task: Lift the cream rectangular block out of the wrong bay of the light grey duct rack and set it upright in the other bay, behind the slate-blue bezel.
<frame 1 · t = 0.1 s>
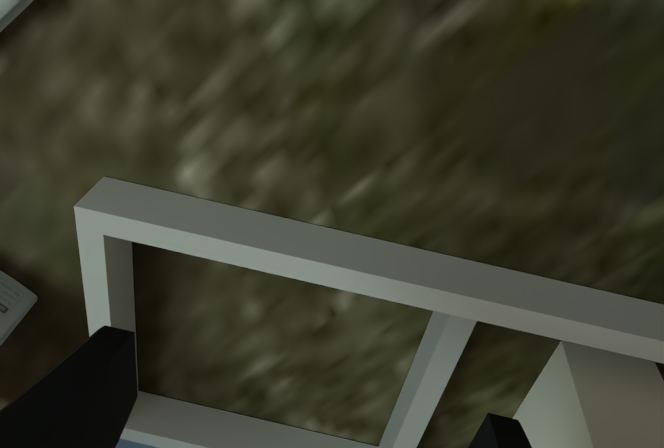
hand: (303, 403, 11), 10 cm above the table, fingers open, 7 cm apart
duct rack: (418, 375, 25), on the table
cream rectangular block: (566, 407, 25), resting in duct rack
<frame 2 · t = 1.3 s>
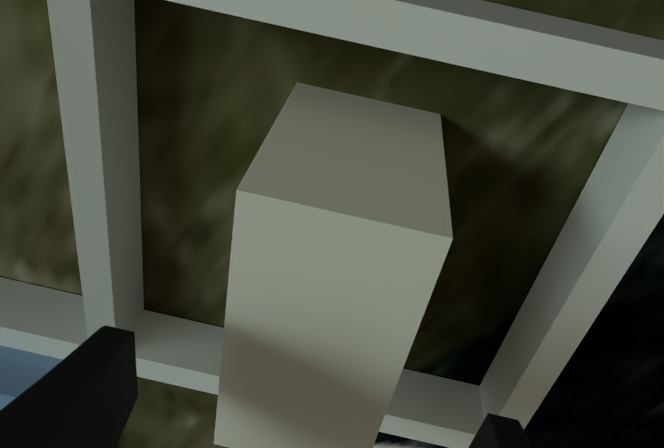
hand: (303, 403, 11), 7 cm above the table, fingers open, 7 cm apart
duct rack: (124, 169, 17), on the table
cream rectangular block: (341, 216, 17), resting in duct rack
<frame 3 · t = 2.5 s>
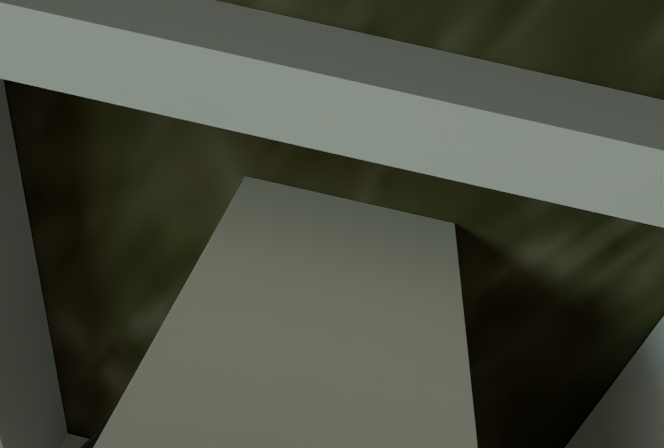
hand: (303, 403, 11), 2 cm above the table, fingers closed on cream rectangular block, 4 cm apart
duct rack: (19, 277, 12), on the table
cream rectangular block: (315, 344, 12), resting in duct rack, touching gripper
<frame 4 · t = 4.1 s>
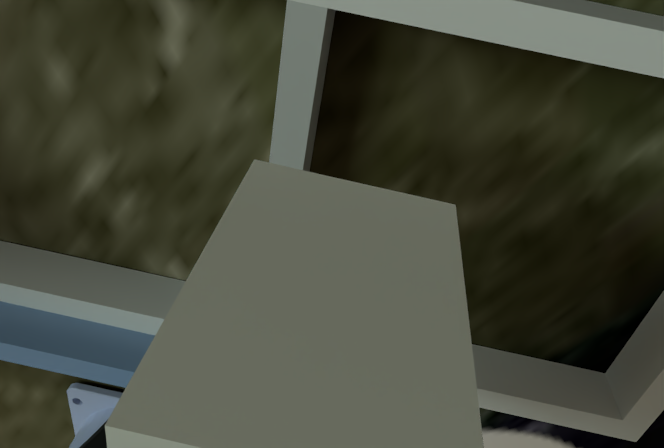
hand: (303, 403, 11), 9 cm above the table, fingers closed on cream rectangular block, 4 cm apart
duct rack: (294, 173, 18), on the table
cream rectangular block: (320, 325, 13), point 7 cm above the table, touching gripper
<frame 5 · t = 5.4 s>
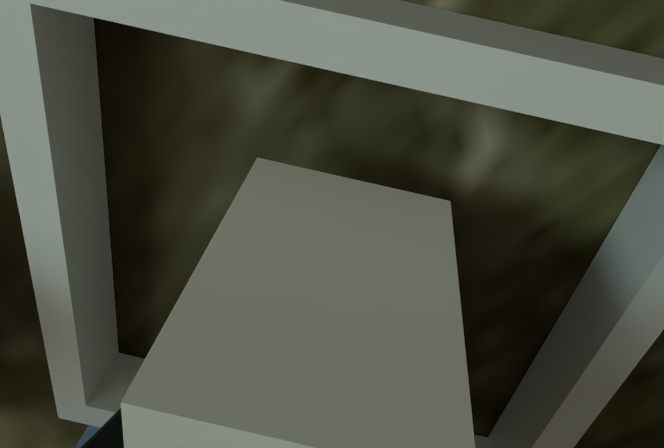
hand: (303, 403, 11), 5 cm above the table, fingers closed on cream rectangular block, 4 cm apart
duct rack: (579, 316, 15), on the table
cream rectangular block: (321, 318, 13), point 2 cm above the table, touching gripper
when the fingers open (3 cm above the table, at t = 6.2 s): cream rectangular block stays where it is, resting in duct rack.
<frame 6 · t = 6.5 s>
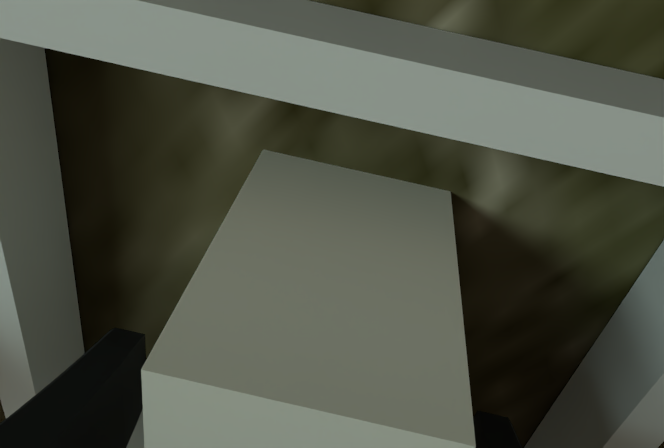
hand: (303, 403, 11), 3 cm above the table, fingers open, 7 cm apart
duct rack: (599, 369, 13), on the table
cream rectangular block: (324, 305, 13), resting in duct rack
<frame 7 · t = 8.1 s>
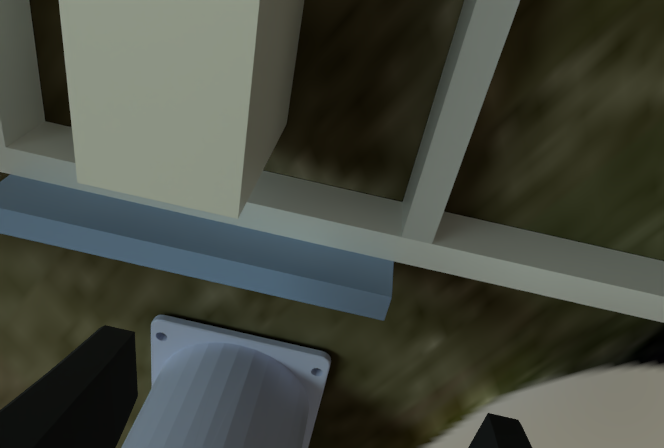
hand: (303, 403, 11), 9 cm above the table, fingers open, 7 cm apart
duct rack: (472, 33, 15), on the table
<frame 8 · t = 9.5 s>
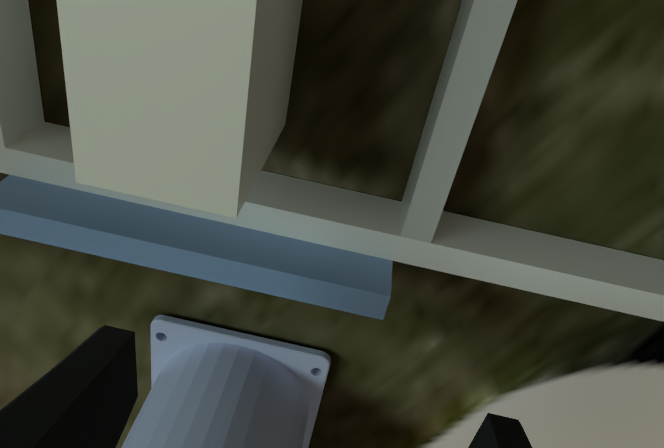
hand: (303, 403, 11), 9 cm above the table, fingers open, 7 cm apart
duct rack: (470, 33, 15), on the table
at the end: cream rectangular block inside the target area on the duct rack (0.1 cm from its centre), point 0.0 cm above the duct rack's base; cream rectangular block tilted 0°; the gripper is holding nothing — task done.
